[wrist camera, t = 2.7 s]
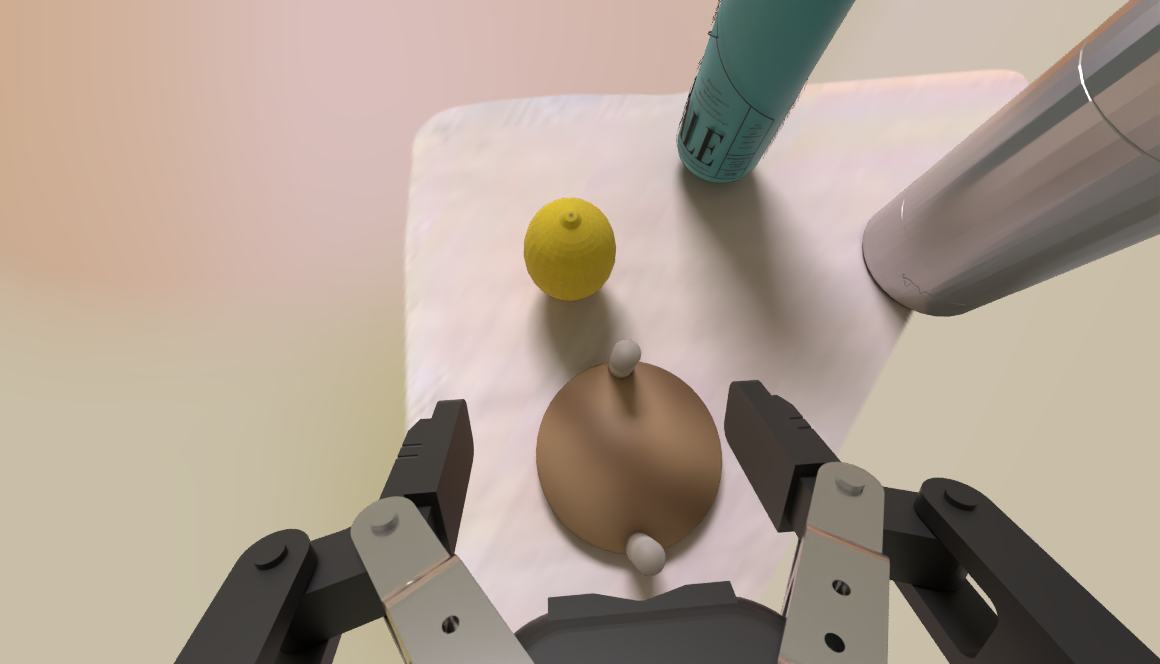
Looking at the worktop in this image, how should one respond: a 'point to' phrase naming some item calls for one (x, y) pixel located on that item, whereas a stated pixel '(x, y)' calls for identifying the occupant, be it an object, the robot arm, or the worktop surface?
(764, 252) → the worktop surface
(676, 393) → the pin dish
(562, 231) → the lemon
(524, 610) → the worktop surface
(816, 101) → the worktop surface
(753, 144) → the beverage bottle
